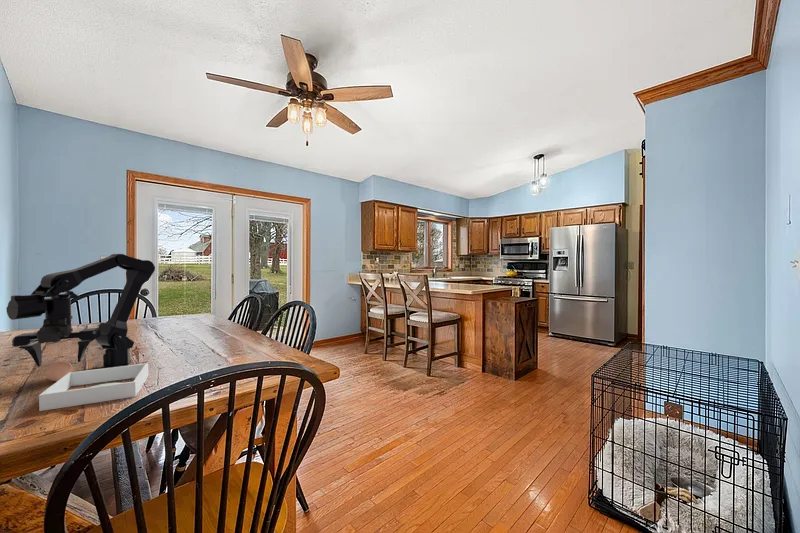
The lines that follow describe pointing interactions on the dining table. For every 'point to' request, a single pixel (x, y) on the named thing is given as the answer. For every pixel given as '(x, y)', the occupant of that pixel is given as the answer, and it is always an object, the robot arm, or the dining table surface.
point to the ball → (58, 370)
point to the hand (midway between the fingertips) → (59, 364)
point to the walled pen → (98, 393)
